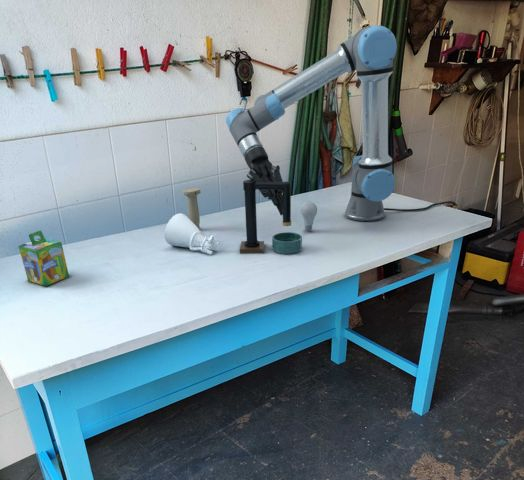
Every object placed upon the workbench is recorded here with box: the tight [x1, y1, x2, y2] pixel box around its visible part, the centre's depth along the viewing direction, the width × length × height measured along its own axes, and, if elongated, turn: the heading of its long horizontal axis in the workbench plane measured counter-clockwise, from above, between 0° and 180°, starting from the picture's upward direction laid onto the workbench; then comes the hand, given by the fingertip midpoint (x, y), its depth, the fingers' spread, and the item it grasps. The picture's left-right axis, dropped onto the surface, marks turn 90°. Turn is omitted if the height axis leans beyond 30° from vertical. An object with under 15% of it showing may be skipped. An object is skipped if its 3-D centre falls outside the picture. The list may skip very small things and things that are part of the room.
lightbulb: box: [300, 201, 318, 232], centre depth 192 cm, size 6×6×11 cm
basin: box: [271, 231, 303, 255], centre depth 177 cm, size 10×10×4 cm
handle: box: [182, 187, 201, 230], centre depth 196 cm, size 5×6×15 cm
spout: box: [242, 179, 292, 227], centre depth 171 cm, size 16×4×14 cm, turn 81°
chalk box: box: [17, 230, 70, 287], centre depth 158 cm, size 9×9×15 cm
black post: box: [239, 189, 265, 254], centre depth 175 cm, size 8×8×20 cm
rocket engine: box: [164, 212, 221, 256], centre depth 179 cm, size 12×12×18 cm
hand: (284, 212), depth 174 cm, fingers closed
